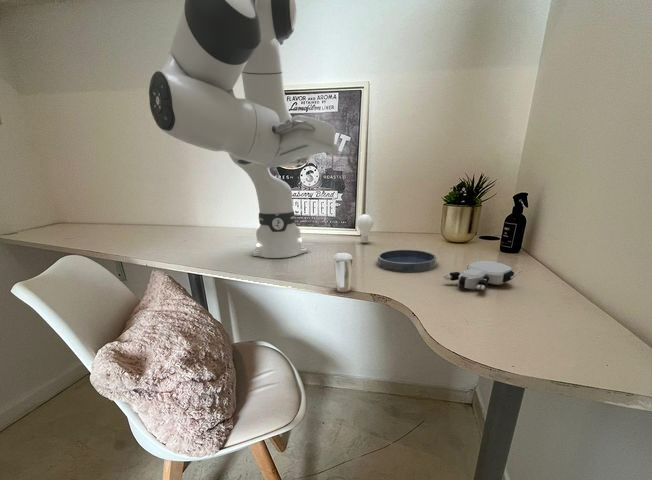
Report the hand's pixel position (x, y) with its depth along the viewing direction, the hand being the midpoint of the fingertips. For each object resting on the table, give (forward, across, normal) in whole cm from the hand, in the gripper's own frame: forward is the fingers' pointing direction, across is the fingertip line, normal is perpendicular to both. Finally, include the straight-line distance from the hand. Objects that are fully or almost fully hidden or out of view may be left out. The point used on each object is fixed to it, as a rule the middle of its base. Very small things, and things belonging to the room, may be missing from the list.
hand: (319, 156), depth 67 cm
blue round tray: (+40, +5, +20) cm, 45 cm away
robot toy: (+37, -19, +25) cm, 49 cm away
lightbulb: (+54, +35, +13) cm, 65 cm away
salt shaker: (+12, +3, +28) cm, 30 cm away
